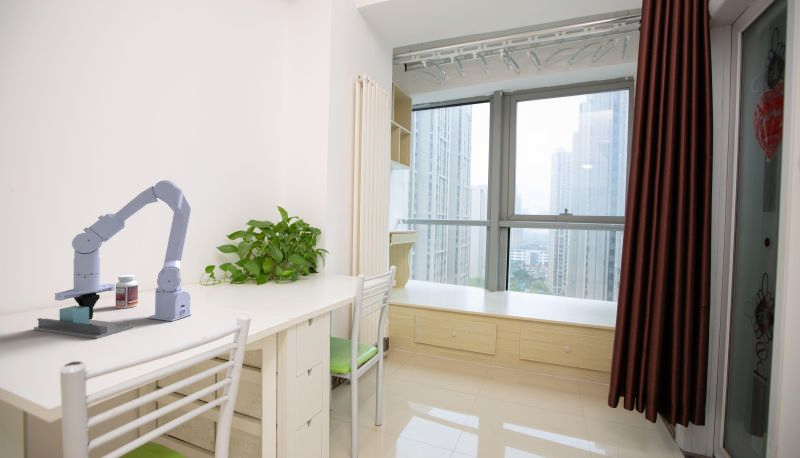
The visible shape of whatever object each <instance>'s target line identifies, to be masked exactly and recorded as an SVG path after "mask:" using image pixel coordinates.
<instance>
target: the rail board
mask: <svg viewBox="0 0 800 458" xmlns="http://www.w3.org/2000/svg"><path fill="white" fill-rule="evenodd" d="M36 319H37V321H38V323H37V324H38V326H34V327H33V331H37V332H45V333H50V334H60V335H66V336H72V337H80V338H85V339H87V338H88V339H94V340H98V339H101V338H103V337H107V336H111V335H114V334H117V333H120V332H123V331H127V330H130V329H133V328H134V325H133V324H128V323H123V322H122V323H120V322H112V321H104V320H98V319H97V320H96V319H90V320H89V324H85V323H77V322H69V321H62V320H60V319H53V318H41V317H40V318H36Z"/></svg>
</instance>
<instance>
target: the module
mask: <svg viewBox="0 0 800 458" xmlns="http://www.w3.org/2000/svg"><path fill="white" fill-rule="evenodd" d="M59 320H62V321H69V322H77V323H85V324H89V307H84V306H79V305H71V306H67V307H62V308H59Z"/></svg>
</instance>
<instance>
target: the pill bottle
mask: <svg viewBox="0 0 800 458" xmlns="http://www.w3.org/2000/svg"><path fill="white" fill-rule="evenodd" d="M117 278H118V282H117V283H116V284H115V307H116V308H117V309H129V308H135V307H137V306H138V305H139V304H138V302H139V301H138V300H139V299H138V297H139V296H138V293H139V290H138V288H139V284H138V281H136V275H135V274H123V275H119V276H118V277H117Z"/></svg>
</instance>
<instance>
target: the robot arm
mask: <svg viewBox="0 0 800 458" xmlns="http://www.w3.org/2000/svg"><path fill="white" fill-rule="evenodd" d="M158 199H159V200H161V201H162V202H164V203H165V204H166V205H167V206H168V207H169V208H170V209H171V210H172V211H173V214H172V215H173V216H172V222H171V225H170V226H171V227H170V230H169V231H170V232H169V236H168V241H167V248H166V251H165V255H164V256H165V257H164V262H163V266H162V269H161V270H160V271H159V272H158V275H157V280H156V284H157V287H156V288H155V300H154V301H155V302H154V303H155V305H154V306H155V307H154V315H153V314H152V315H149V316H147V318H148V319H152V320H159V321H160V320H161V321H169V322H174V321H178V320H179V319H180V320H181V319H183V318H186V317H189V316H192V315H193V314H192V313H191V295H190V293H189V292H187V291H186V290H184V289H183V286H182V285H181V283H182V278H181V273H180V270H181V262H182V257H183V251H184V247H185V242H186V237H187V233H188V232H187V231H188V226H189V222H190V221H189V220H190V216H191V215H190V214H191V212H192V208H191V206H190V204H189V202H188V200H187V198H186V196H185V194H184V193H183V190H182V189H181V188H180V187H179V186H178V185H177V184H175V182H173V181H171V180H166V179H165V180H164V179H163V180H160V181H158V182H157V183H155V185H154V186H153V185H151V186H150V187H148V188H147V189H145V190H143V191H141V192H140V193H138V194H137V195H136V196H135V197H134V198H132V200H130V201H129V202H127V203H126V204H125V205H124V206H123V207H121V208H120V209H119V210H118V211H117V212H116V213H106V214H105V215H103V214H102V215H100V216H98V217H97V218H98V220H96V222H94V223H93V224H92V225H90V226H89V227H87V226H86V227H85V228H83V229H82V231H84V232H81V233H77V234H76V236H75V237H74V238H73V239H72V242H71V246H72V248H73V250H74V252H73V256H74V258H73V288H72V289H68V290H64V291H59V292H56V293H54V300H55V301H59V302H60V301H65V300H68V299H73V300H74V301H75V302H76V303H77V305H78V306H84V307H89V320H93V318H94V307H95V306H96V303H97V302H98V301H99V300H100V298H101V297H100V294H99V293H105V292H109V291H110V292H111V291H116V284H114V283H106V284H101V257H100V248H101V247H102V244H103V242H104V243H105V242H108V241H109V240H110V239H111V238H113V237H114V236H115V235H116V234H118V233H119V232H121V231H122V229H124V228H125V222H126V220H128V219H129V218H130V217H132V216H134V214H136V213H137V212H139V211H140V210H141V209H143V208H145V206H148V204H153V203H159V200H158Z"/></svg>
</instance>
